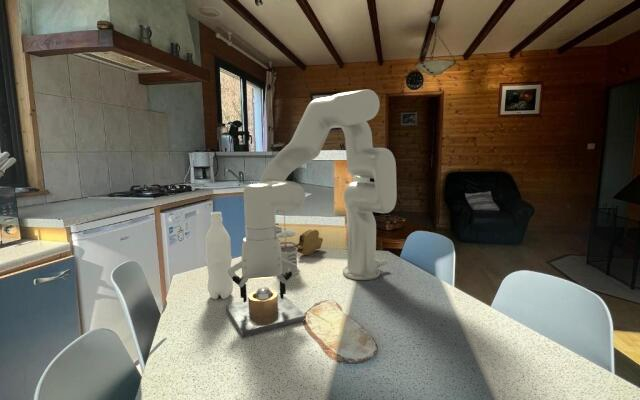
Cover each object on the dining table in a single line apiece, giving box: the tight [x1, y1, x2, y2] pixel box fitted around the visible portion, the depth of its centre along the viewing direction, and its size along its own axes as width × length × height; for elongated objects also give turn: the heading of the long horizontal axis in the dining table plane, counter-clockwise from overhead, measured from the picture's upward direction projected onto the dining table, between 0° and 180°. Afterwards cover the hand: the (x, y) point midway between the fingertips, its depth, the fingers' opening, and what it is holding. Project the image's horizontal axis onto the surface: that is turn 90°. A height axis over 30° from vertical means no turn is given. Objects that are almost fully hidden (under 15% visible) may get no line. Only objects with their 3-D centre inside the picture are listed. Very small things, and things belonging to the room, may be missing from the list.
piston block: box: [225, 286, 306, 339], centre depth 91 cm, size 16×16×7 cm
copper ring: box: [247, 289, 278, 316], centre depth 91 cm, size 7×7×4 cm
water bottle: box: [204, 211, 234, 301], centre depth 102 cm, size 7×7×25 cm
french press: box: [276, 211, 301, 277], centre depth 121 cm, size 10×12×25 cm
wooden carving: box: [295, 229, 324, 256], centre depth 143 cm, size 16×5×10 cm, turn 150°
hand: (263, 298), depth 90 cm, fingers open, 9 cm apart
